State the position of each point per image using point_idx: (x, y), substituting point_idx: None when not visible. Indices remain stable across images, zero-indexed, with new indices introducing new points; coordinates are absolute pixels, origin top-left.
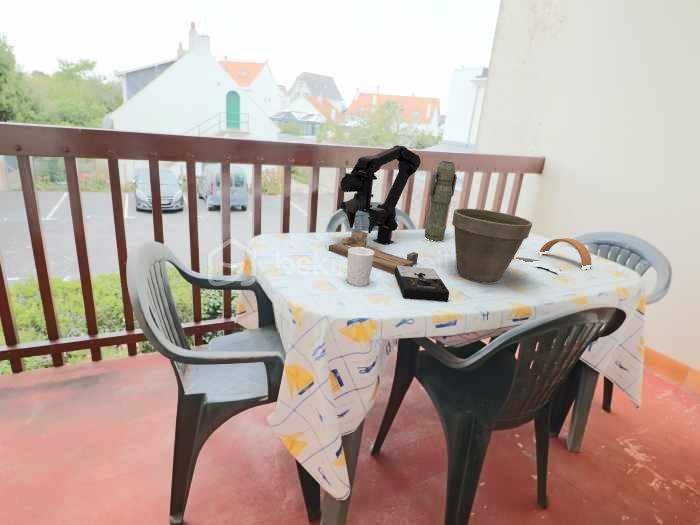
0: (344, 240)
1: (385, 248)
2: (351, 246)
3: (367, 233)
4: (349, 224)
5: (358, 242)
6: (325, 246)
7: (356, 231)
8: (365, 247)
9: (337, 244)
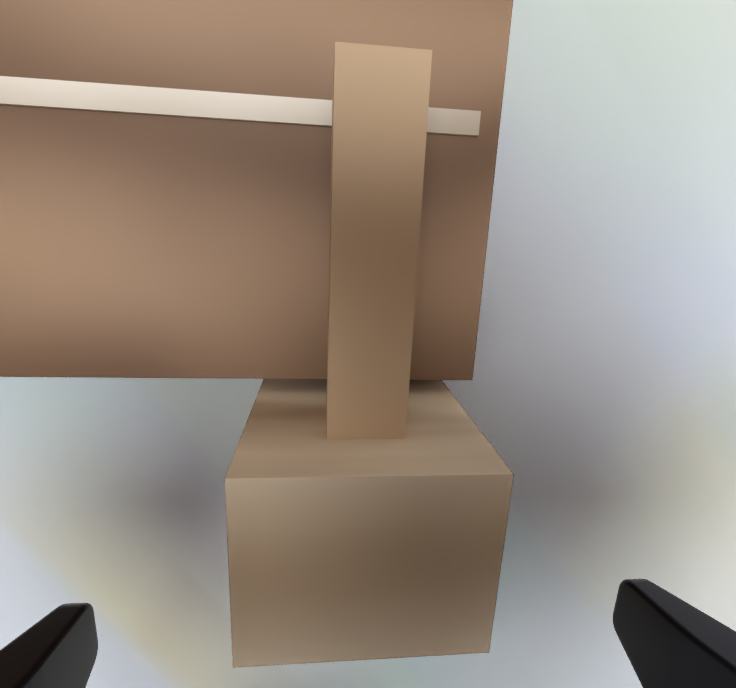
0: (382, 59)
1: (105, 641)
2: (245, 146)
3: (233, 651)
4: (730, 629)
5: (301, 399)
6: (639, 27)
7: (445, 553)
8: (76, 311)
9: (468, 19)
